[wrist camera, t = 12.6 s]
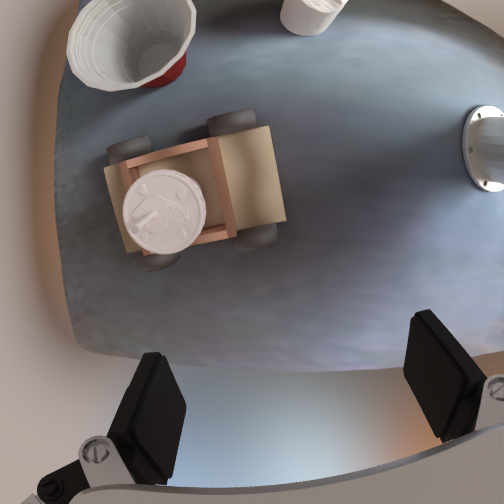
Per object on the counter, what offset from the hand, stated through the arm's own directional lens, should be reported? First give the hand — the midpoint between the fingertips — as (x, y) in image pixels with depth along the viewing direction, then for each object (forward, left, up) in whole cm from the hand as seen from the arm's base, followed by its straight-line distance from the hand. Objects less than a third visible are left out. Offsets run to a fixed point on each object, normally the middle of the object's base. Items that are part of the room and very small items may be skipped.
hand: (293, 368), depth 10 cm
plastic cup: (+7, -19, -25) cm, 33 cm away
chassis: (+6, -4, -25) cm, 26 cm away
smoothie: (+7, -4, -23) cm, 24 cm away
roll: (-10, -22, -25) cm, 35 cm away
